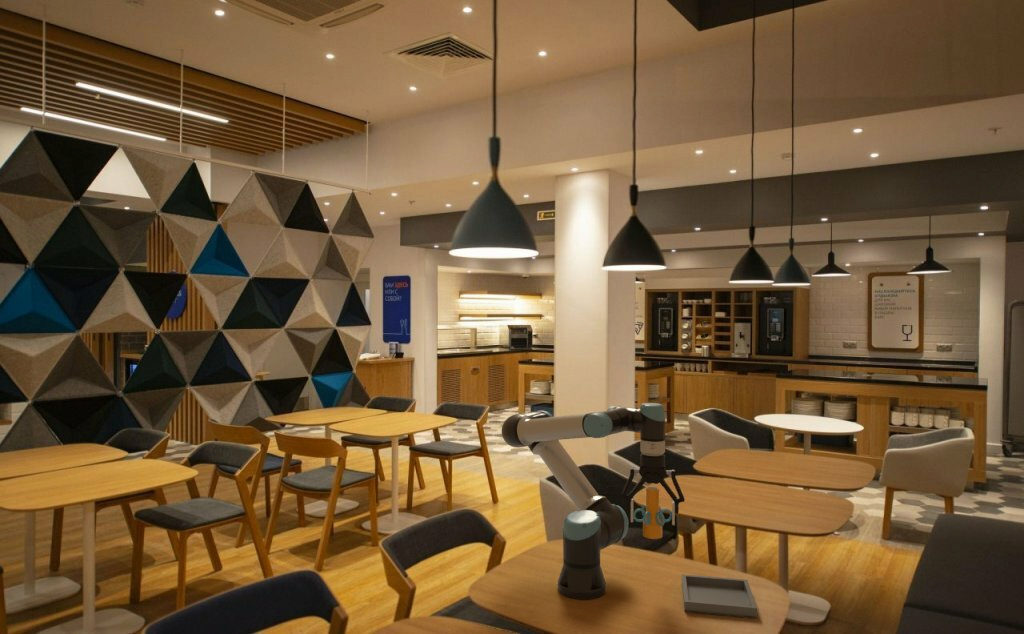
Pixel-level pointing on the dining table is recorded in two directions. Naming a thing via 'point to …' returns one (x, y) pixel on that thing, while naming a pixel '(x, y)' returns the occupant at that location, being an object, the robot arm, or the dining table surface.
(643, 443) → the robot arm
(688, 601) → the tray
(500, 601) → the dining table surface
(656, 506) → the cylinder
